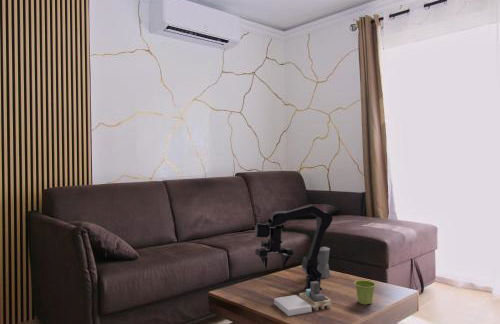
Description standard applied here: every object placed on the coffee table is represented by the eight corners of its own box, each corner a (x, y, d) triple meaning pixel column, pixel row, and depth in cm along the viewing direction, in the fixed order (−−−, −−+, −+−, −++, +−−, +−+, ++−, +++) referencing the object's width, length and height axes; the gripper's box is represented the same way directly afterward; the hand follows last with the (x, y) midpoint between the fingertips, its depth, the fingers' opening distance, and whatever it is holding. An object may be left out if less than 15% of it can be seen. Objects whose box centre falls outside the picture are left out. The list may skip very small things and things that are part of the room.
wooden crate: (316, 298, 191) (316, 277, 191) (331, 307, 179) (331, 285, 178) (299, 300, 188) (299, 279, 188) (313, 311, 175) (313, 288, 175)
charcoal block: (321, 299, 182) (321, 293, 182) (324, 301, 179) (324, 295, 179) (313, 301, 181) (313, 294, 180) (316, 303, 178) (316, 296, 178)
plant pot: (377, 300, 186) (377, 281, 186) (374, 307, 177) (374, 287, 177) (356, 297, 190) (356, 279, 190) (352, 304, 181) (352, 285, 181)
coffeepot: (319, 271, 233) (318, 240, 232) (334, 273, 228) (334, 241, 227) (307, 278, 220) (307, 245, 219) (324, 281, 215) (323, 247, 214)
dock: (295, 300, 188) (295, 294, 188) (311, 311, 174) (311, 306, 174) (274, 303, 184) (274, 298, 184) (288, 315, 170) (288, 310, 170)
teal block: (313, 294, 189) (313, 288, 189) (316, 296, 186) (316, 290, 186) (305, 295, 187) (305, 289, 187) (309, 297, 184) (308, 291, 184)
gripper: (284, 234, 210) (282, 264, 210) (251, 235, 203) (249, 266, 203) (295, 238, 200) (293, 270, 200) (261, 239, 193) (259, 272, 193)
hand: (273, 269), depth 199 cm, fingers open, 9 cm apart
